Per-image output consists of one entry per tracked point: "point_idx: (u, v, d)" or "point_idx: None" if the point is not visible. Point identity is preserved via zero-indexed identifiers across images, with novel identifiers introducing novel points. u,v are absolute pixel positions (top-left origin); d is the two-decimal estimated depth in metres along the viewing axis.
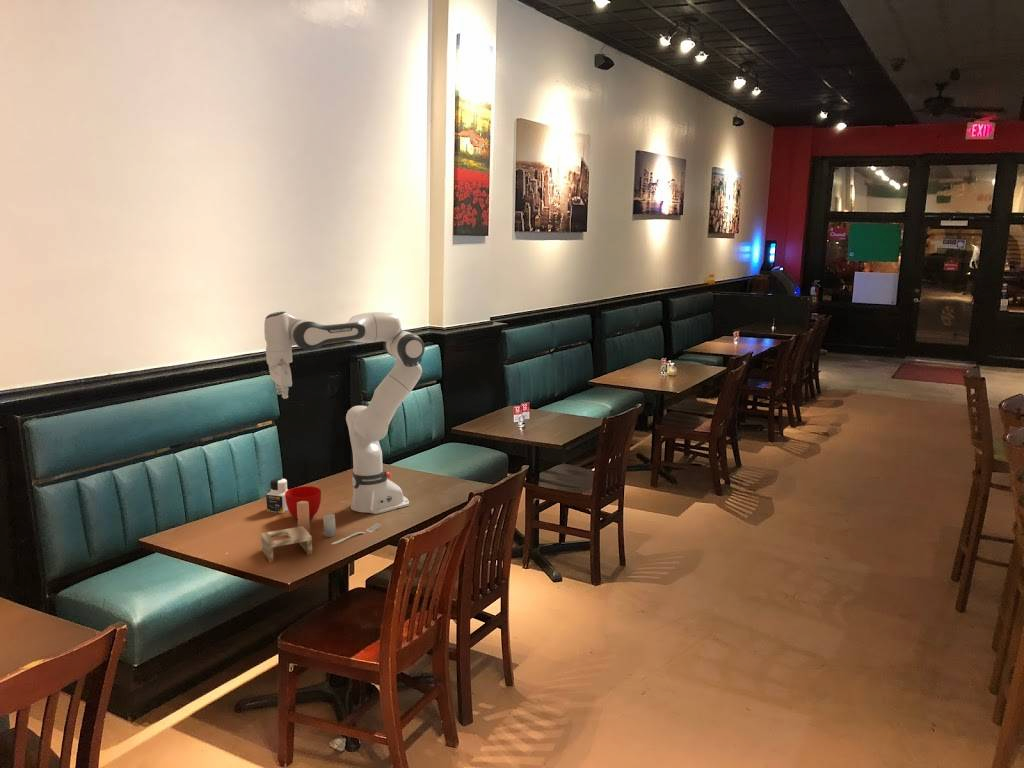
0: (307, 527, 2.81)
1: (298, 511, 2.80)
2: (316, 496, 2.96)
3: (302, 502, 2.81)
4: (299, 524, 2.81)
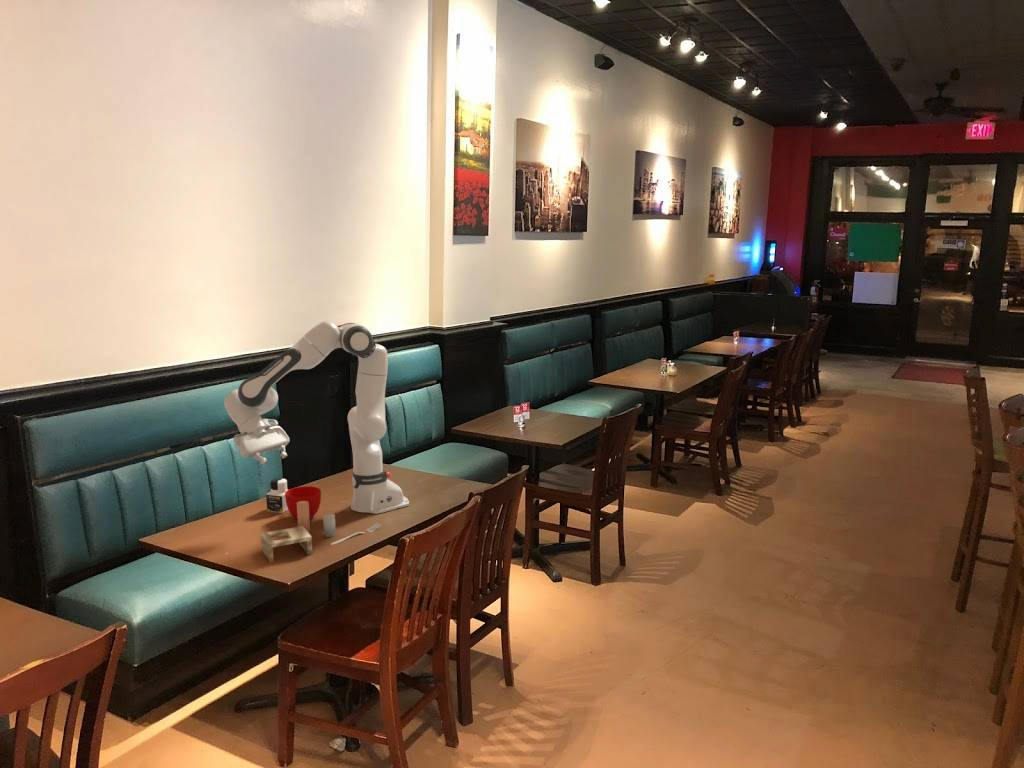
0: (307, 527, 2.81)
1: (298, 511, 2.80)
2: (316, 496, 2.96)
3: (302, 502, 2.82)
4: (299, 524, 2.81)
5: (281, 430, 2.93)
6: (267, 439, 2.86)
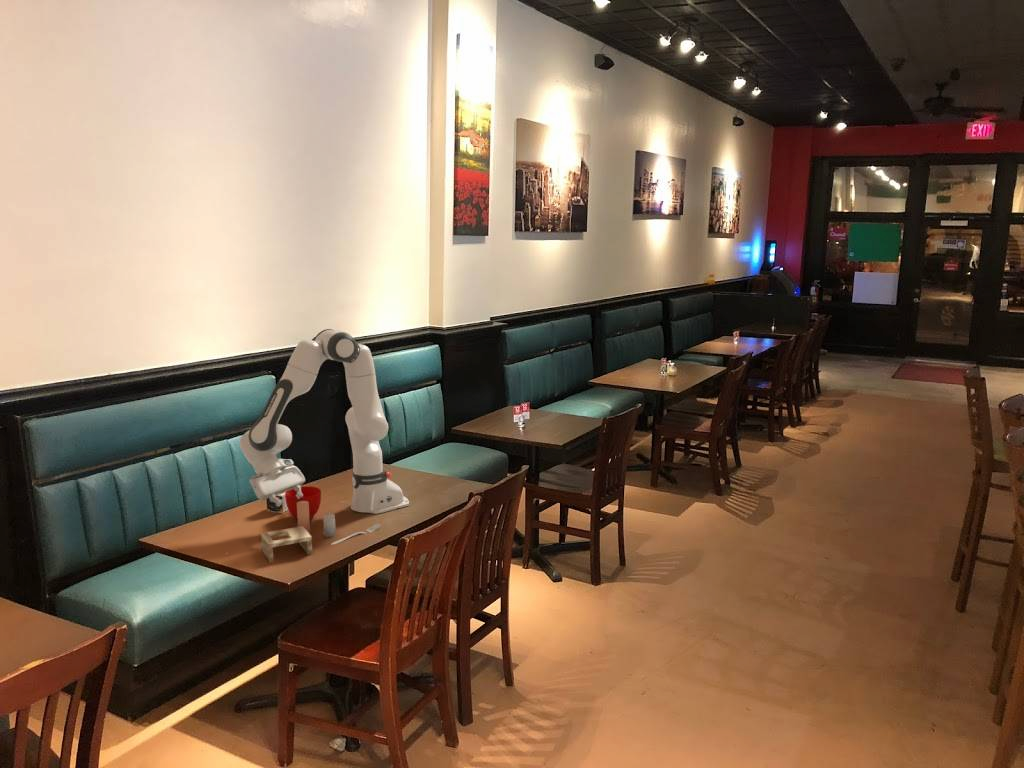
0: (307, 527, 2.81)
1: (298, 511, 2.80)
2: (316, 496, 2.96)
3: (302, 502, 2.81)
4: (299, 524, 2.81)
5: (297, 470, 2.92)
6: (283, 480, 2.85)
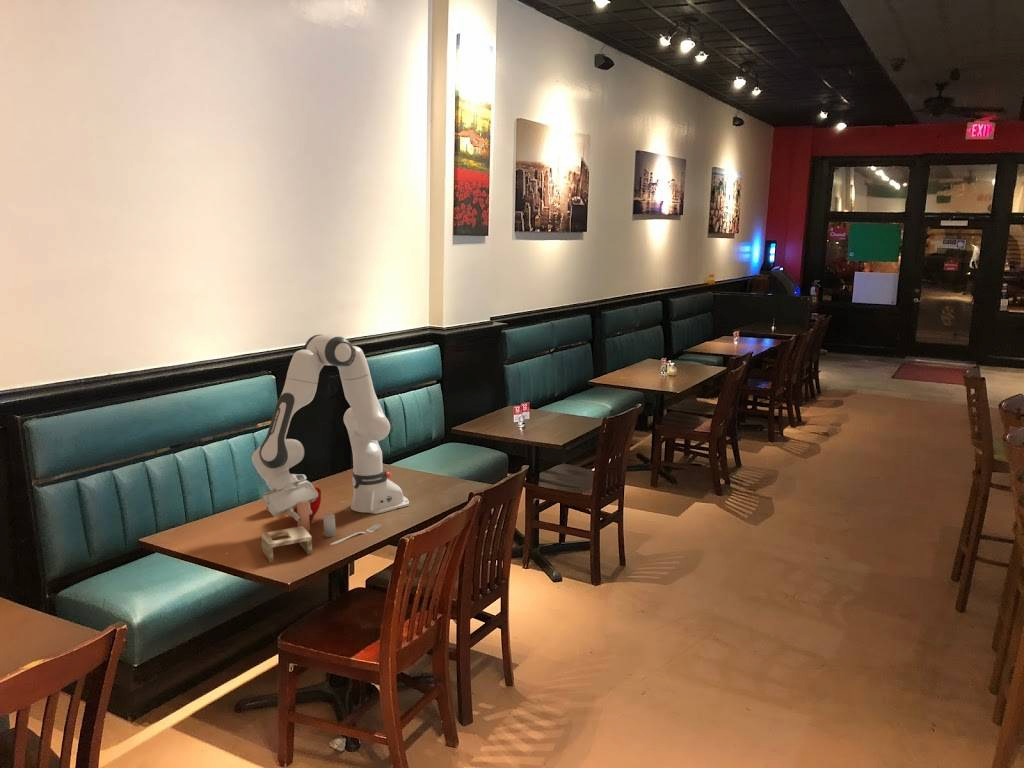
0: (307, 527, 2.81)
1: (298, 511, 2.80)
2: None
3: (302, 502, 2.81)
4: (299, 524, 2.81)
5: (310, 485, 2.90)
6: (296, 495, 2.83)
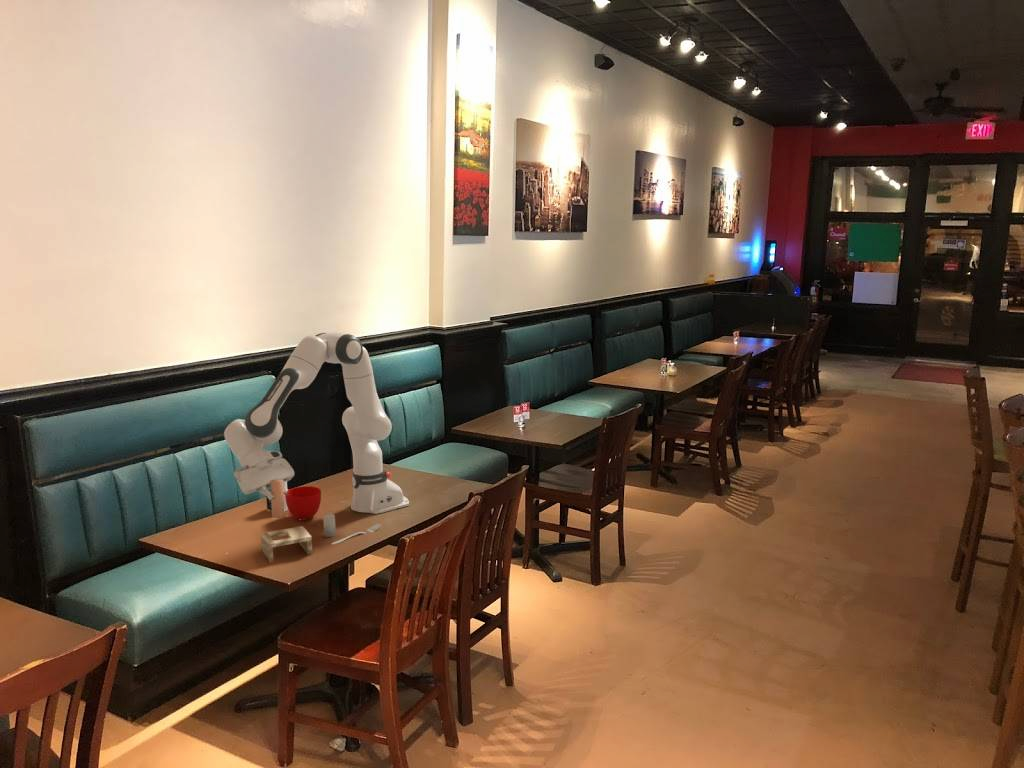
0: (281, 507, 2.64)
1: (272, 489, 2.62)
2: (316, 496, 2.96)
3: (276, 480, 2.64)
4: (273, 503, 2.63)
5: (285, 463, 2.72)
6: (270, 473, 2.66)
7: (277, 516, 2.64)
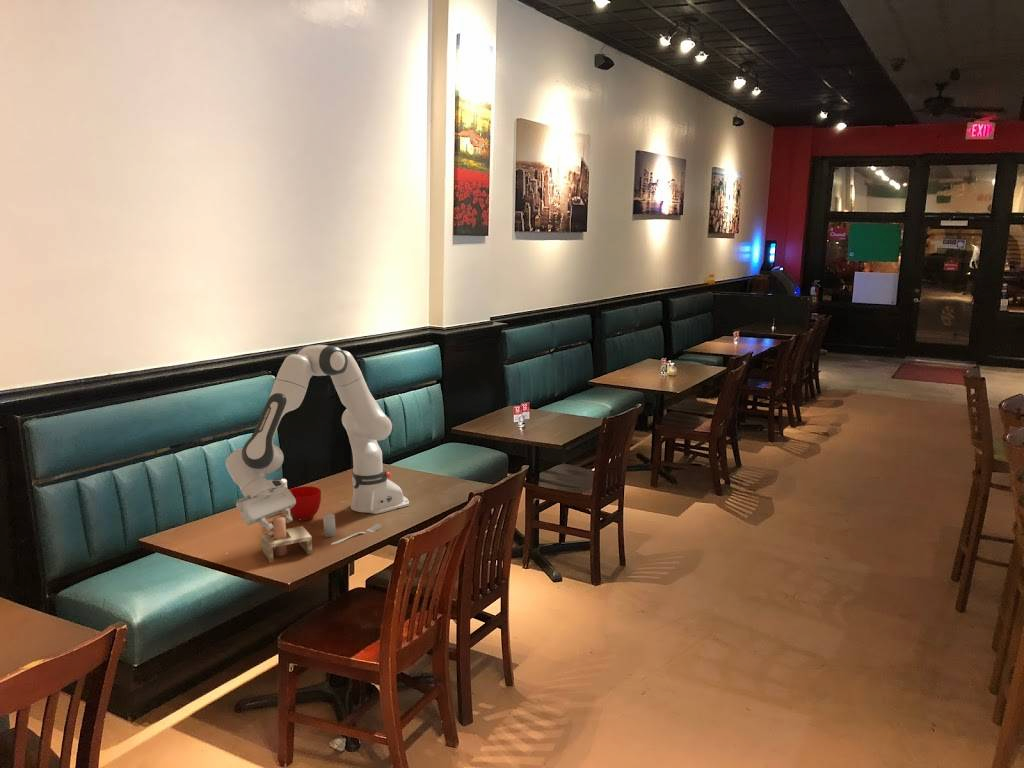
0: (283, 545, 2.66)
1: (274, 528, 2.65)
2: (316, 496, 2.96)
3: (278, 518, 2.66)
4: None
5: (287, 491, 2.74)
6: (272, 502, 2.67)
7: (280, 554, 2.66)
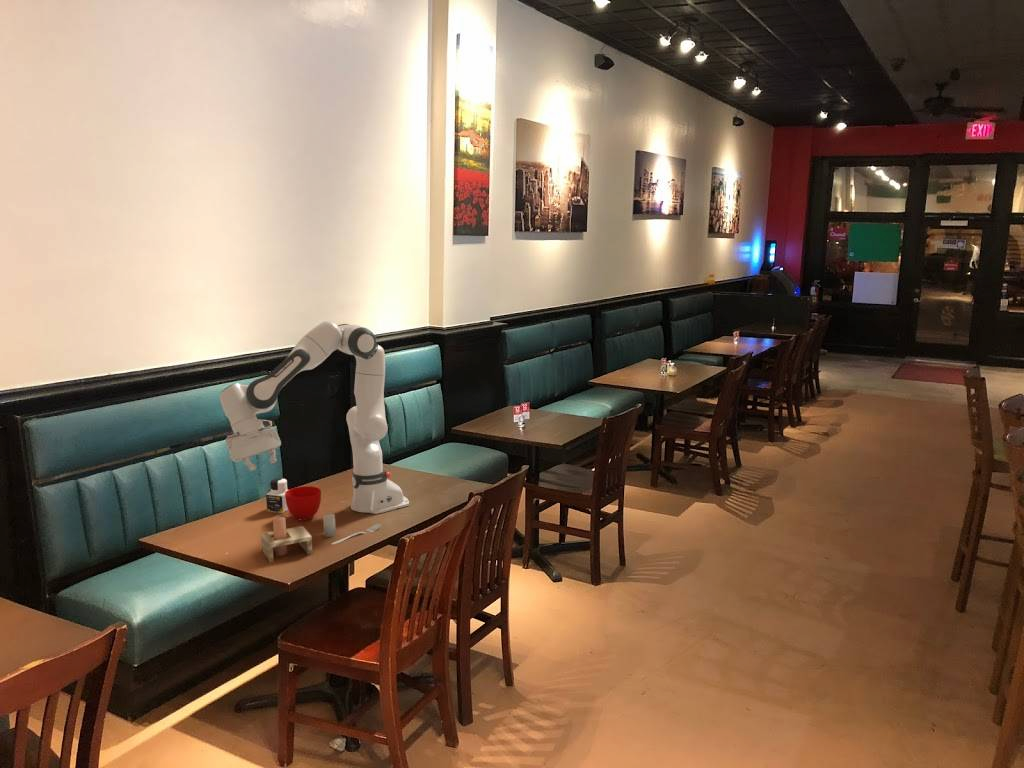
0: (284, 545, 2.66)
1: (274, 528, 2.65)
2: (316, 496, 2.96)
3: (279, 518, 2.66)
4: None
5: (274, 432, 2.81)
6: (259, 443, 2.75)
7: (280, 554, 2.66)
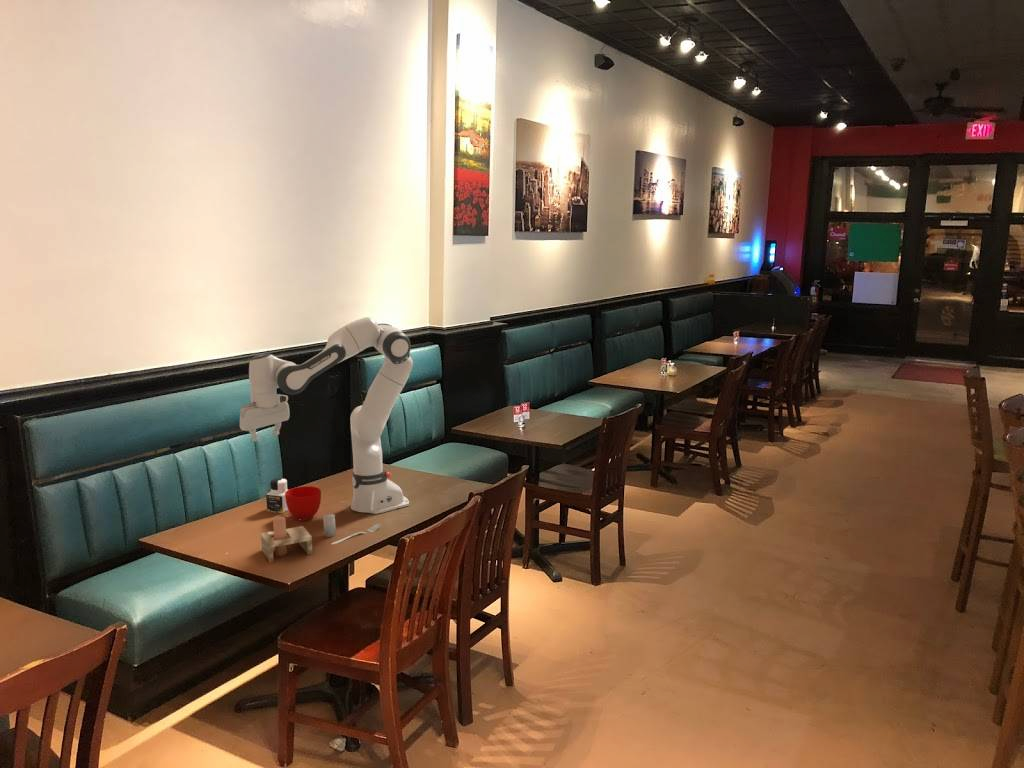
0: (284, 545, 2.66)
1: (274, 528, 2.65)
2: (316, 496, 2.96)
3: (279, 518, 2.66)
4: None
5: (286, 407, 2.90)
6: (270, 416, 2.84)
7: (280, 554, 2.66)
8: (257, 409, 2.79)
